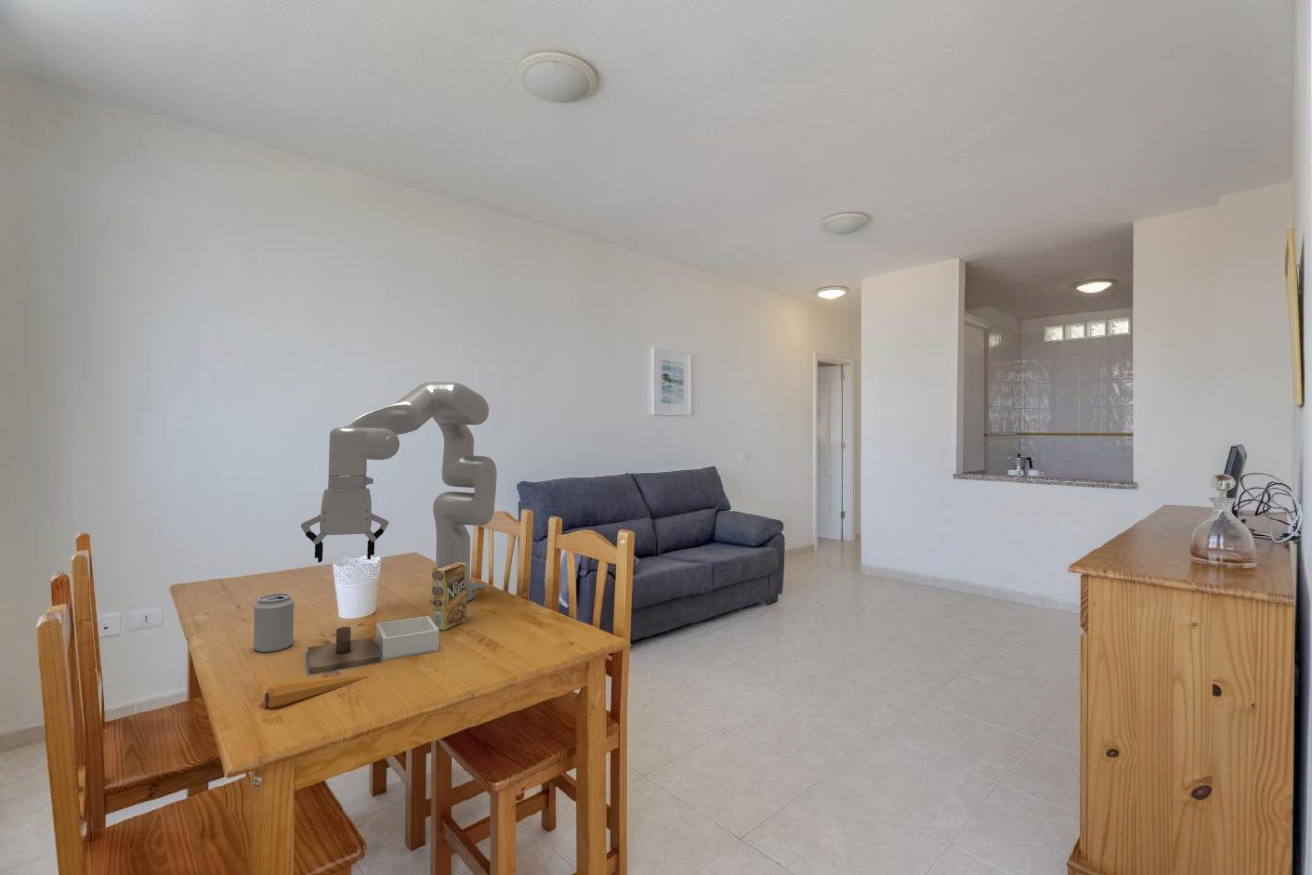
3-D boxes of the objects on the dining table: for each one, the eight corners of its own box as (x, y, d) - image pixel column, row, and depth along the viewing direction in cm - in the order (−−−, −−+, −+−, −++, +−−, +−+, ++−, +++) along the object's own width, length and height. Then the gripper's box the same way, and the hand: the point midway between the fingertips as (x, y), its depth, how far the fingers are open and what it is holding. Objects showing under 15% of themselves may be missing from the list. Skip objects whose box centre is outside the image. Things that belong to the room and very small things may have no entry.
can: (301, 645, 136) (301, 593, 136) (270, 656, 129) (270, 602, 129) (277, 640, 139) (277, 589, 138) (245, 651, 131) (246, 598, 131)
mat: (374, 643, 138) (374, 641, 138) (382, 664, 126) (382, 662, 126) (305, 653, 131) (305, 652, 131) (306, 677, 119) (306, 675, 119)
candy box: (444, 631, 147) (445, 570, 147) (430, 629, 149) (431, 568, 148) (467, 620, 155) (468, 562, 155) (453, 618, 157) (454, 561, 157)
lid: (372, 642, 138) (372, 616, 138) (379, 661, 127) (380, 633, 126) (307, 652, 131) (308, 624, 131) (309, 674, 120) (309, 643, 120)
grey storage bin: (428, 636, 144) (428, 615, 143) (438, 652, 134) (439, 630, 134) (376, 644, 137) (376, 623, 137) (382, 662, 128) (383, 639, 127)
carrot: (266, 717, 105) (273, 696, 104) (259, 699, 107) (266, 679, 106) (378, 691, 120) (385, 672, 119) (370, 676, 123) (376, 658, 122)
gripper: (389, 481, 139) (387, 554, 139) (304, 482, 131) (301, 559, 131) (390, 484, 132) (388, 560, 132) (300, 484, 124) (297, 565, 124)
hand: (344, 559), depth 131 cm, fingers open, 9 cm apart
